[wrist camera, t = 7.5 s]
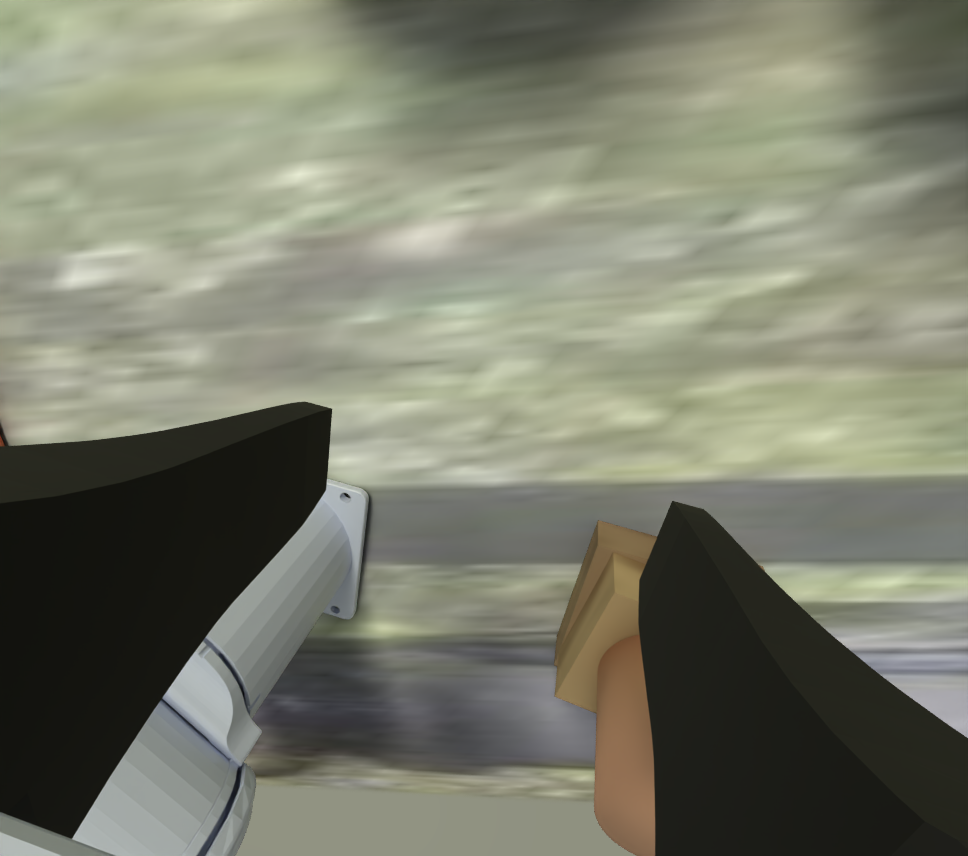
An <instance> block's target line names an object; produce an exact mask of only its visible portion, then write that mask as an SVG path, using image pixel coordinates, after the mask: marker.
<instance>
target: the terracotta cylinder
mask: <svg viewBox="0 0 968 856" xmlns="http://www.w3.org/2000/svg"><path fill="white" fill-rule="evenodd" d="M594 810H595V811H594V812H595V815H596V819H597V821H598V823H599V825H600V826H601V828H602V830H604V832H605V833H606V834H607V835H608V836H609V837H610V838H611V839H612V840H613V841H614V842H615V843H617V844H618V845H619V846H621V847H622V848H624V849H626V850H627V851H629V852H631V853H633V854H635V855H637V856H655V790H654V756H653V744H652V732H651V724H650V716H649V708H648V701H647V693H646V685H645V677H644V669H643V661H642V652H641V644H640V635H636V636H631V637H628V638H626V639H623V640H621V641H619V642H617V643H616V644H614V645H613V646H611V647H610V648H609V649H608V650H607V651H606V652H605V654H604V655H603V656H602V658H601V660H600V663H599V666H598V680H597V718H596V756H595V793H594Z"/></svg>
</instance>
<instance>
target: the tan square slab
mask: <svg viewBox="0 0 968 856" xmlns="http://www.w3.org/2000/svg"><path fill="white" fill-rule="evenodd" d="M656 539H657V537H656V536H652V535H649V534H645V533H642V532H638V531H634V530H631V529H627V528H624V527H620V526H617V525H613V524H609V523H606V522H602V521H599V520H598V522H597V525H596V528H595V530H594V533H593V536H592V539H591V542H590V544H589V547H588V550H587V553H586V556H585V559H584V561H583V564H582V567H581V570H580V573H579V575H578V578H577V581H576V584H575V587H574V589H573V592H572V595H571V598H570V601H569V603H568V606H567V609H566V612H565V615H564V618H563V620H562V623H561V626H560V629H559V632H558V634H557V641H556V651H555V661H554V666H558V655H559V650H560V648H561V646H562V644H563V643H564V641H565V639H566V637H567V635H568V634H569V632H570V630H571V628H572V626H573V624H574V623H575V621H576V619H577V617H578V615H579V614H580V612H581V610H582V608H583V606H584V604H585V603H586V601H587V599H588V597H589V595H590V593H591V592H592V590H593V588H594V586H595V584H596V583H597V581H598V579H599V577H600V575H601V573H602V572H603V570H604V568H605V566H606V564H607V563H608V561H609V559H610V557H611V555H612V553H613V552H615V553H618V554H620V555H623V556H625V557H628V558H630V559H633V560H635V561H638V562H641V563H643V564H646V563H647V560H648V558H649V556H650V553H651V551H652V548H653V546H654V544H655V541H656ZM760 567H761V568H762V569H763V570H764V568H763V566H760Z"/></svg>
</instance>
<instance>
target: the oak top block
mask: <svg viewBox="0 0 968 856" xmlns="http://www.w3.org/2000/svg"><path fill="white" fill-rule="evenodd" d="M645 565H646V564H643V563H641V562H638V561H635V560H633V559H630V558H628V557H625V556H623V555H620V554H618V553H615V552H613V553H612V555H611V557H610V559H609V561H608V563H607V564H606V566H605V568H604V570H603V572H602V573H601V575H600V577H599V579H598V581H597V583H596V584H595V586H594V588H593V590H592V592H591V593H590V595H589V597H588V599H587V601H586V603H585V604H584V606H583V608H582V610H581V612H580V614H579V615H578V617H577V619H576V621H575V623H574V624H573V626H572V628H571V630H570V632H569V634H568V635H567V637H566V639H565V641H564V643H563V644H562V646H561V648H560V650H559V655H558V666H557V677H556V687H555V697H557V698H559V699H562V700H564V701H567V702H569V703H572V704H574V705H577V706H579V707H582V708H584V709H586V710H589V711H591V712H594V713H596V714H597V680H598V666H599V663H600V660H601V658H602V656H603V655H604V654H605V652H606V651H607V650H608V649H609V648H610V647H611V646H613V645H614V644H616V643H617V642H619V641H621V640H623V639H626V638H628V637H631V636H636V635H639V626H638V605H639V579H640V577H641V575H642V572H643V570H644V567H645Z"/></svg>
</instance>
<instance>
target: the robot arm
mask: <svg viewBox="0 0 968 856" xmlns="http://www.w3.org/2000/svg"><path fill="white" fill-rule="evenodd" d="M331 417H332V409H331V408H327V407H323V406H320V405H316V404H312V403H308V402H297V403H290V404H285V405H280V406H275V407H271V408H266V409H262V410H257V411H253V412H249V413H244V414H240V415H236V416H231V417H227V418H223V419H218V420H214V421H209V422H204V423H199V424H194V425H189V426H184V427H179V428H174V429H169V430H164V431H158V432H152V433H146V434H139V435H133V436H125V437H117V438H109V439H101V440H91V441H81V442H66V443H51V444H36V445H21V446H0V856H235V855H236V853H237V851H238V849H239V847H240V845H241V843H242V840H243V838H244V836H245V833H246V830H247V828H248V825H249V821H250V818H251V813H252V804H253V799H254V795H255V788H256V776H255V774H254V772H253V770H252V768H251V767H249V766H248V765H247V764H245V763H244V761H245V759H246V758H247V756H248V754H249V753H250V751H251V750H252V748H253V746H254V745H255V743H256V742H257V740H258V739H259V737H260V735H261V734H262V731H261V729H260V728H259V727H258V726H257V725H256V724H255V723H254V721H253V720H252V718H253V717H254V715H255V714H256V712H257V711H258V709H259V708H260V706H261V705H262V703H263V702H264V700H265V699H266V697H267V696H268V694H269V693H270V691H271V690H272V688H273V687H274V685H275V684H276V682H277V681H278V679H279V678H280V676H281V674H282V673H283V671H284V670H285V668H286V667H287V665H288V664H289V662H290V661H291V659H292V658H293V656H294V655H295V653H296V652H297V650H298V649H299V647H300V646H301V644H302V643H303V641H304V640H305V638H306V637H307V635H308V634H309V632H310V631H311V629H312V628H313V626H314V625H315V623H316V622H317V620H318V619H319V617H320V616H321V614H322V613H326V614H329V615H332V616H336V617H339V618H342V619H351V618H352V617H353V616H354V614H355V612H356V607H357V598H358V590H359V581H360V572H361V564H362V555H363V546H364V538H365V529H366V521H367V512H368V503H369V496H368V494H367V492H366V491H364V490H363V489H361V488H358V487H355V486H351V485H348V484H344V483H341V482H337V481H334V480H330V479H327V472H328V459H329V445H330V431H331ZM344 493H347V494H349V496H350V497H351V498H347V497H346V496H345V495H344ZM335 606H336V607H335ZM337 607H338V608H337ZM638 626H639V635H640V644H641V652H642V661H643V669H644V677H645V685H646V693H647V701H648V708H649V716H650V724H651V732H652V744H653V756H654V790H655V856H968V738H967V737H965V736H964V735H962V734H961V733H959V732H958V731H956V730H955V729H953V728H952V727H950V726H949V725H948V724H946V723H945V722H943V721H942V720H941V719H939V718H938V717H936V716H935V715H934V714H932V713H931V712H930V711H928V710H927V709H925V708H924V707H923V706H921V705H920V704H919V703H917V702H916V701H914V700H913V699H912V698H910V697H909V696H907V695H906V694H905V693H903V692H902V691H901V690H899V689H898V688H897V687H895V686H894V685H893V684H891V683H890V682H889V681H887V680H886V679H885V678H883V677H882V676H881V675H880V674H878V673H877V672H876V671H874V670H873V669H872V668H871V667H869V666H868V665H867V664H866V663H865V662H863V661H862V660H861V659H860V658H859V657H857V656H856V655H855V654H854V653H852V652H851V651H850V650H849V649H848V648H846V647H845V646H844V645H843V644H842V643H840V642H839V641H838V640H837V639H835V638H834V637H833V636H832V635H831V634H830V633H829V632H827V631H826V630H825V629H824V628H823V627H822V626H821V625H820V624H818V623H817V622H816V621H815V620H814V619H813V618H812V617H811V616H810V615H809V614H808V613H807V612H806V611H804V610H803V609H802V608H801V607H800V606H799V605H798V604H797V603H796V602H795V601H794V600H793V599H792V598H791V597H790V596H789V595H788V594H787V593H786V592H785V591H783V590H782V589H781V588H780V587H779V586H778V585H777V584H776V583H775V582H774V581H773V580H772V579H771V578H770V576H769V575H768V574H767V573H766V572H765V571H764V570H763V569H762V568H761V567H760V566H759V565H758V564H757V563H756V562H755V561H754V560H753V559H752V558H751V557H750V556H749V555H748V554H747V553H746V551H745V550H744V549H743V548H742V547H741V546H740V545H739V544H738V543H737V542H736V541H735V540H734V539H733V538H732V537H731V536H730V534H729V533H728V532H727V531H726V530H725V529H724V528H723V527H722V526H721V525H720V524H719V523H718V522H717V521H716V520H715V519H714V518H713V517H712V516H711V515H710V514H709V513H707V512H706V511H705V510H704V509H700V508H697V507H693V506H689V505H686V504H682V503H678V502H675V501H672V503H671V506H670V508H669V510H668V513H667V515H666V518H665V520H664V522H663V525H662V527H661V529H660V532H659V534H658V537H657V539H656V541H655V544H654V546H653V548H652V551H651V553H650V556H649V558H648V560H647V563H646V565H645V567H644V570H643V572H642V575H641V577H640V579H639V605H638Z"/></svg>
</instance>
